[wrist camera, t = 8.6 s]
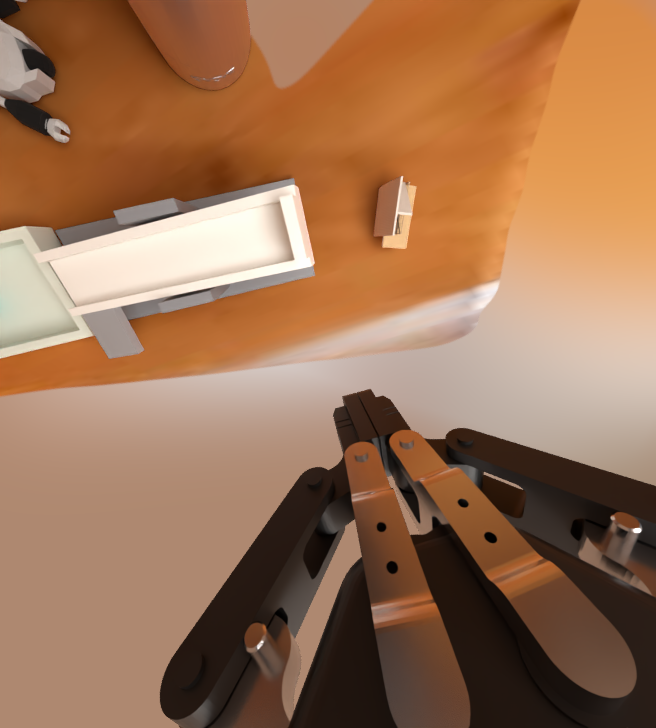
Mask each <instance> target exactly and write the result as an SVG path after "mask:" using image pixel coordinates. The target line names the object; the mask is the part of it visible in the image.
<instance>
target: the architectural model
mask: <svg viewBox="0 0 656 728" xmlns="http://www.w3.org/2000/svg"><path fill="white" fill-rule="evenodd" d="M402 180H403V176H400V177H398V178H397V179H395V180H393V181H392V180H391V181H390V182H388V183H386V184H384V185H382V186H381V187H380V188H379V193H378V201H377V210H376V218H375V227H374V235H373V236H374V237H376V236H383V240H382V247H388V248H402V249H406V246H407V240H408V234H409V228H410V222H411V215H412V209H413V203H414V197H415V191H416V186H410V185H409V183H410V182H407V183H405V182H402ZM407 184H408V185H407ZM397 215H398V216H397ZM396 221H397V222H396ZM396 223H397V225H396ZM395 228H396V231H395Z"/></svg>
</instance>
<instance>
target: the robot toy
mask: <svg viewBox="0 0 656 728" xmlns="http://www.w3.org/2000/svg"><path fill="white" fill-rule="evenodd" d="M15 1H20V2H25V3H26V2H27V1H28V0H0V18H2V19H3V18H5V17H7V16H9V15H11V14H13V13H16V12H18V11H20V8H19V7H18V5H17V3H16V2H15ZM54 76H55V67H54V65H53V63H52V62H51V60H50V59H49V58H48V57H47V56H46V55H45V54H44V53H43V51H42V50H41V49H40V48H39V47H38V46H37V45H36V44H35V43H34V42H33V41H31V40H30V39H29V38H28V37H27V36H26V35H25V34H23V33H22V32H21V31H19V30H17V29H15V28H13V27H11V26H9V25H8V24H6V23H4V22H3V21H2V20H1V19H0V105H1V106H3V107H5V108H6V109H7V110H8V111H9V112H10V113H11V114H12V115H13V116H14V117H15V118H17V119H18V120H19V121H20V122H21V123H22V124H24V125H26V126H28V127H30V128H32V129H34V130H36V131H38V132H40V133H42V134H44V135H46V136H52V137H53V138H54V139H55V140H56V141H59V142H63V143H66V142H68V141H69V138H68V137H67V136H64V135H61V134H60V133H61V129H62V130H64V131H65V132H66V133H68V134H70V130H69V128H68V126H67V125H66V124H65V123H63V122H62V121H61V120H60V119H53V118H52V117H51V116H50V115H49V114H48V113H47V112H45V111H43V110H41V109H39V108H37V107H35V106H33V105H31V104H30V103H32V102H35V101H38V100H39V99H40V98H41V96H43V95H46V94H49V93H52V92H54V86H55V81H53V80H52V79H51V78H52V77H54ZM4 97H5V98H4ZM6 98H9V99H6Z"/></svg>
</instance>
